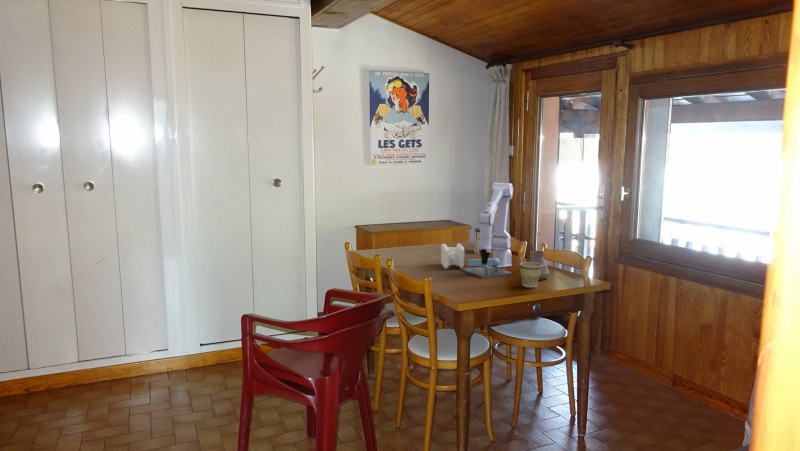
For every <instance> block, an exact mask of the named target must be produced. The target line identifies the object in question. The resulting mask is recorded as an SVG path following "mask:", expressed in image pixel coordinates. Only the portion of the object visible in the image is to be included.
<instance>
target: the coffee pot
mask: <svg viewBox="0 0 800 451" xmlns="http://www.w3.org/2000/svg"><path fill="white" fill-rule="evenodd" d="M526 245H528V246H529V247H530V250H531V253H532V257H531V258H530V260H529V262H533V263H539V264H541V265H544V266H545V270H544V271H543V272H542V273H541V274H540V275H539V280H541V281H542V280H545V279H546V278H547V277H548V276H549V275H550V270H549V267H548V264H547V262H546V260H545V255H546V251H542V250H535V249H534V247H533V244H532V242H530V241H529V242H527V244H526ZM544 266H542V269H541V271H542V270H543V269H544ZM539 280H538V281H539Z"/></svg>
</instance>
